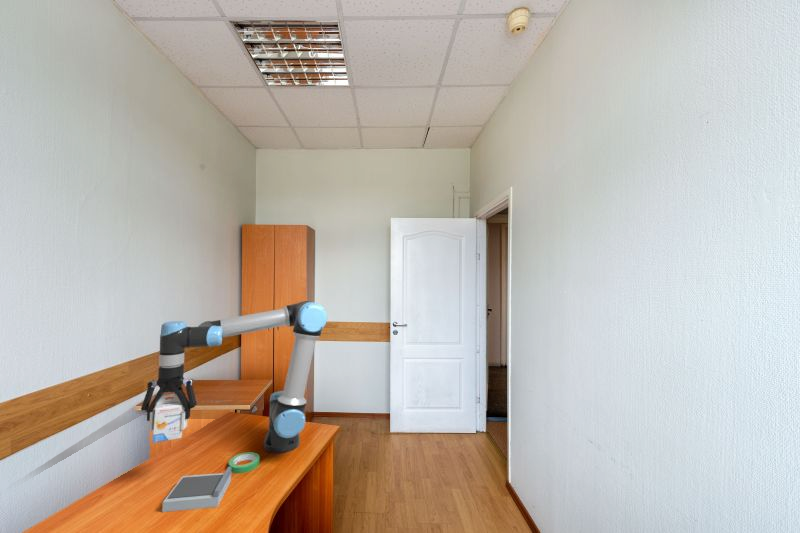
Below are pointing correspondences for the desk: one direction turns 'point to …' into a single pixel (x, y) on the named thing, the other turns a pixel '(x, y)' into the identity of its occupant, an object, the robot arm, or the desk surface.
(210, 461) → the desk surface
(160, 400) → the ink box
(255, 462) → the tape roll
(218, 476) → the dock
